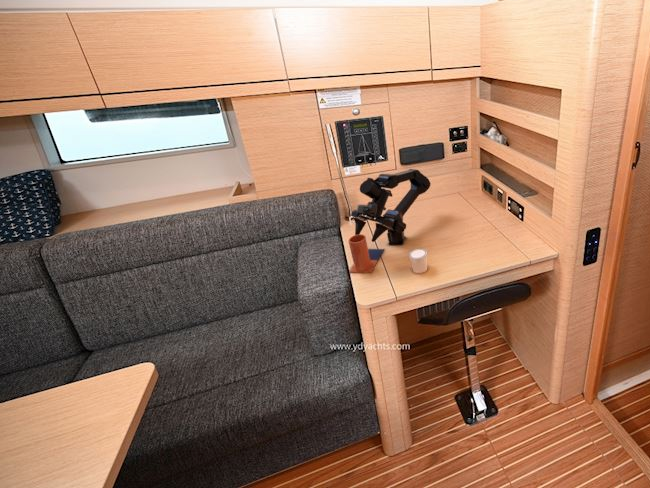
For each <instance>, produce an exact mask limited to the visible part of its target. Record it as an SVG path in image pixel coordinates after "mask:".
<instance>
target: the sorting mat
mask: <svg viewBox="0 0 650 488" xmlns="http://www.w3.org/2000/svg"><path fill="white" fill-rule="evenodd" d="M368 250H369V255H370V260H371V267H370V268H369V269H368V270H366V271H357V270H356V269H355V266H354V264H353V265H352V267H351V269H350V270H349V274H351V273H352V274H355V273H357V274H372V272H373V270H374V268H376V265H377V263H378V262H379V260H380V258H381V256H382V254H383V253H384V251H385V249H384V248H368Z"/></svg>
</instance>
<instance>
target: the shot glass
mask: <svg viewBox="0 0 650 488" xmlns="http://www.w3.org/2000/svg"><path fill="white" fill-rule="evenodd" d="M408 257H409V261H410V265H411V268H412V271H413V272H414V273H416V274H422V273H425V272H426V271H427V270H428V252H427V250H426V249H424V248H416V249H413V250H411V251H410V252H409V253H408Z"/></svg>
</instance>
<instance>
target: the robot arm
mask: <svg viewBox="0 0 650 488" xmlns="http://www.w3.org/2000/svg"><path fill="white" fill-rule="evenodd" d="M407 181H409V183H410V189H409V190H408V191H407V193H406V194H405V195H404V196H403V198H401V200H400V201H399V203H398V204H397V205H396V206H395V208H393V209H390V208H389V209H387V208H386V204H387V202H388V199H389V197H391V198H392V197H393V193H392V190H393V189H395V188H397V187H398V186H399V184H400V183H404V182H407ZM430 188H431V181H430V179H429V178H428V177H427V176H426V175H424V174H423V173H422V172H421V171H420V170H418V169H416V168H415V169H414V168H409V169H406V170H403V171H399V172H396V173H379V175H378V177H376V178H375V179H374V178H372V177H368V178H367V179H365V180H364V181H363V182H362V183H361V184H360V185H359V192H360V193H361V194H363V195H365V196H366V197H368V198H369V199H371V201H368V202H367V204H357V207H356V209H354V210H352V211H351V214H350V216H351V217H352V219H353V221H354V224H355V225H354V226H355V229H354V233H355V234H354V235H358V234H361V232H362V231H363V229H364V228H365V226H366V224H367V222H366V221H370V222H374V223H375V230H374V232H373V235H372V238H371V242H373V243H375V242H376V240H378V238H380V237H381V236H382V235H383V234H384V233H385V232H386V231H387V233H386V235H387V240H388V245H389V246H402V245H404V242H405V240H406V239H407V237H406V235H405V230H406V229H407V223H405V222H404V216H405V214H406V213H407V212H408V210H410V208H411V206H413V204H414V202H416V200H417V199H418V197H419V196H420V195H423V194H425V193H426V192H427V191H428V190H429V189H430ZM384 211H385V212H384ZM383 212H384V214H383Z"/></svg>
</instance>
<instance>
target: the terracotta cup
mask: <svg viewBox="0 0 650 488" xmlns="http://www.w3.org/2000/svg"><path fill="white" fill-rule="evenodd" d="M348 245H349V249H350V253H351V258H352V262H353V265H354V266H355V269H356V270H357V271H366V270H368V269H369V268H370V267H371V260H370V255H369V250H368V249H369V247H368V241H367V238H366V235H365V234H361V233H360V234H358V235H355V234H354V235H351V236H350V237H349V238H348Z"/></svg>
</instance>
